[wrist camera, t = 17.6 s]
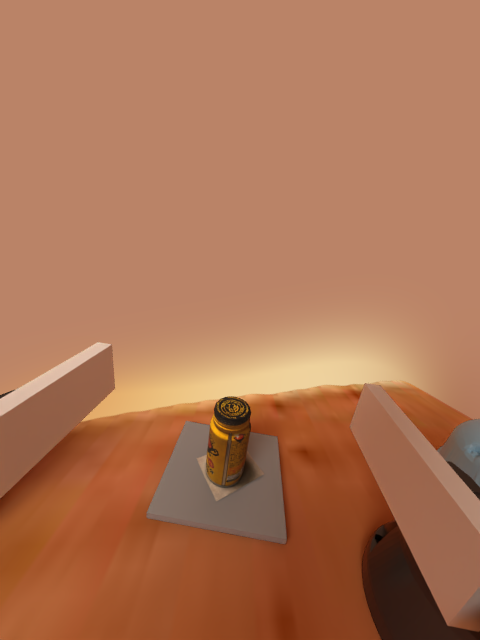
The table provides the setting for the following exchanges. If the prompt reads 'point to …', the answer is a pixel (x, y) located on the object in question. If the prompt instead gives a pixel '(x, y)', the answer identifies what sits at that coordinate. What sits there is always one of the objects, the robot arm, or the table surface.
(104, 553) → the table surface
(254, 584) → the table surface
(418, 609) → the robot arm
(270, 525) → the plain gray board
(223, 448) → the condiment
